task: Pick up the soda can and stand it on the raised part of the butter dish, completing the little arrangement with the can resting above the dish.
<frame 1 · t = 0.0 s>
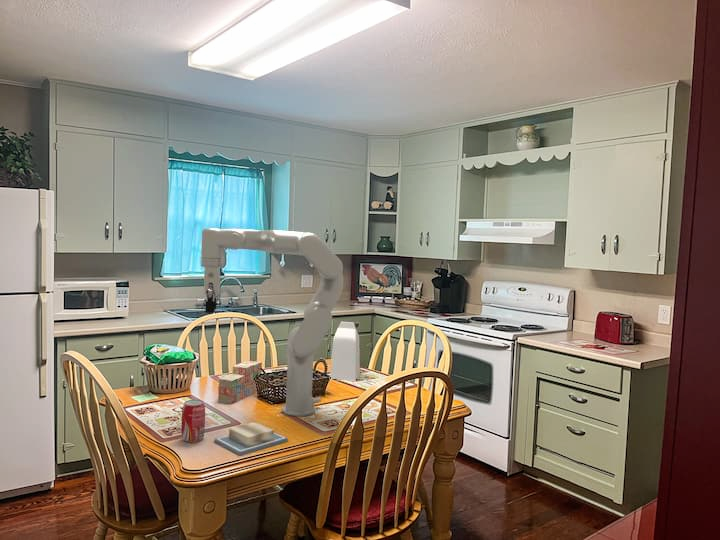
hand: (210, 310, 200), 37 cm above the table, tool pointing down, fingers open, 9 cm apart
stack of blocks: (240, 396, 225), on the table
milk: (344, 378, 261), on the table
butter dish: (251, 441, 178), on the table
soda can: (192, 440, 177), on the table
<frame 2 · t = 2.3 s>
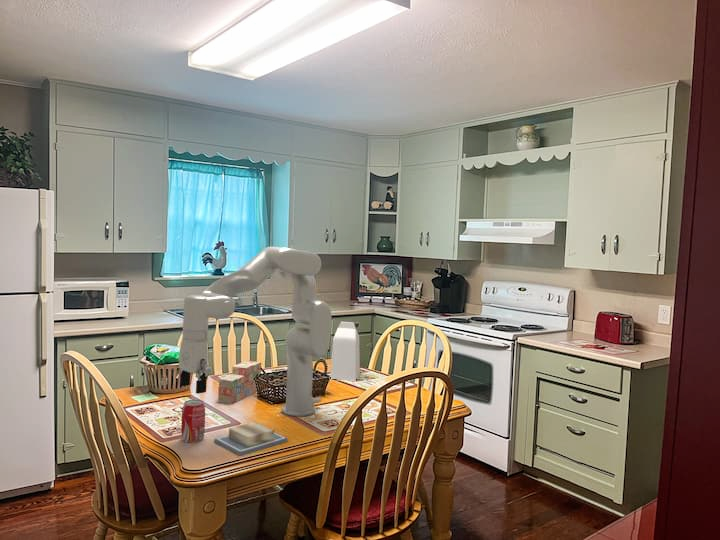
hand: (192, 389, 176), 16 cm above the table, tool pointing down, fingers open, 9 cm apart
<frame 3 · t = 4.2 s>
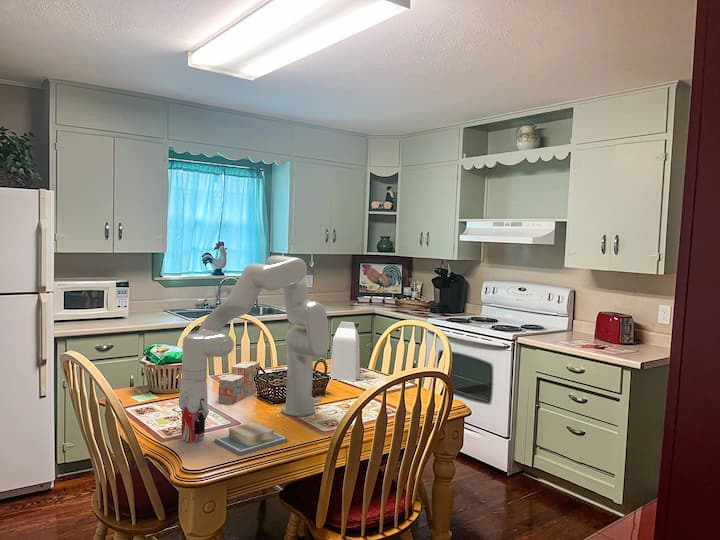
hand: (193, 429, 177), 3 cm above the table, tool pointing down, fingers closed on soda can, 7 cm apart
soda can: (192, 440, 177), on the table, touching gripper
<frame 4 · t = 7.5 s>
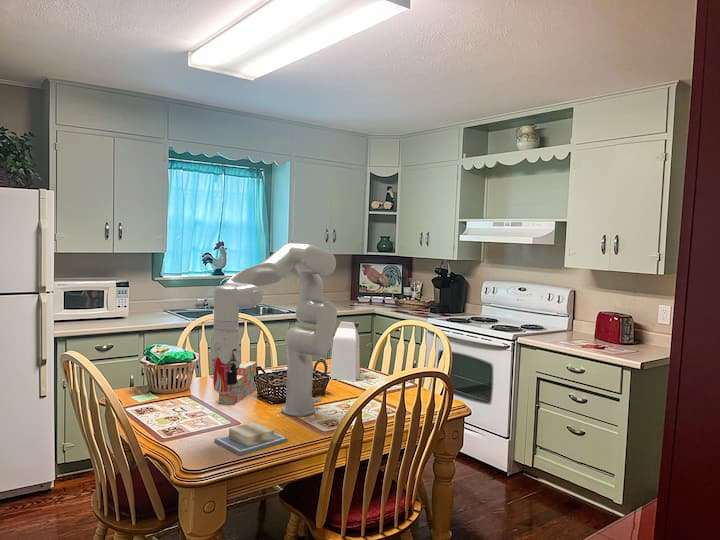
hand: (225, 380, 176), 19 cm above the table, tool pointing down, fingers closed on soda can, 7 cm apart
soda can: (224, 391, 177), point 16 cm above the table, touching gripper
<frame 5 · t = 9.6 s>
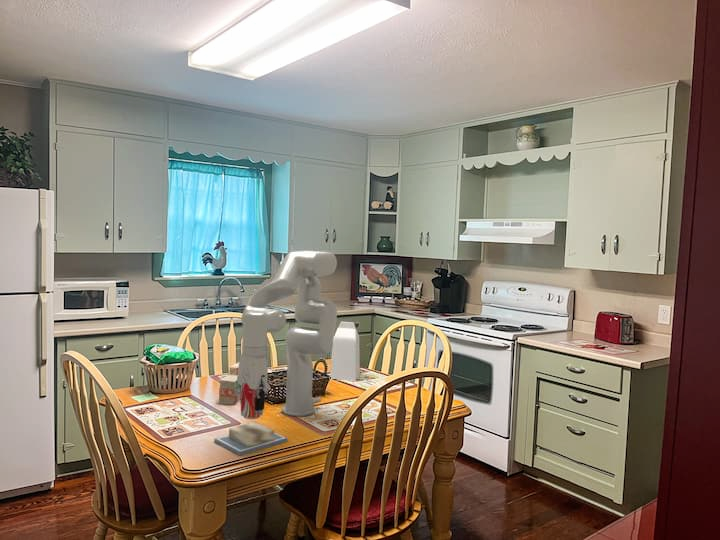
hand: (252, 406, 177), 11 cm above the table, tool pointing down, fingers closed on soda can, 7 cm apart
soda can: (251, 417, 177), point 8 cm above the table, touching gripper
when the fingers open (8 cm above the table, at t = 11.1 s): soda can drops 1 cm, resting on butter dish.
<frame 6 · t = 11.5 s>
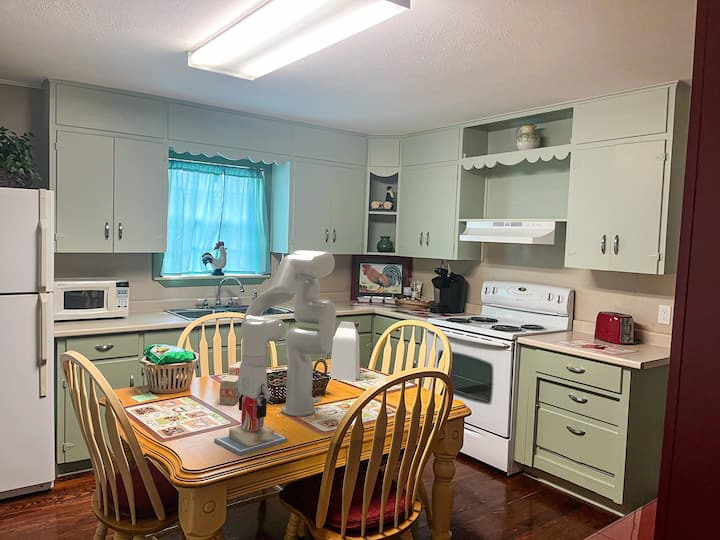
hand: (252, 413, 177), 9 cm above the table, tool pointing down, fingers open, 9 cm apart
soda can: (252, 429, 177), point 4 cm above the table, touching butter dish
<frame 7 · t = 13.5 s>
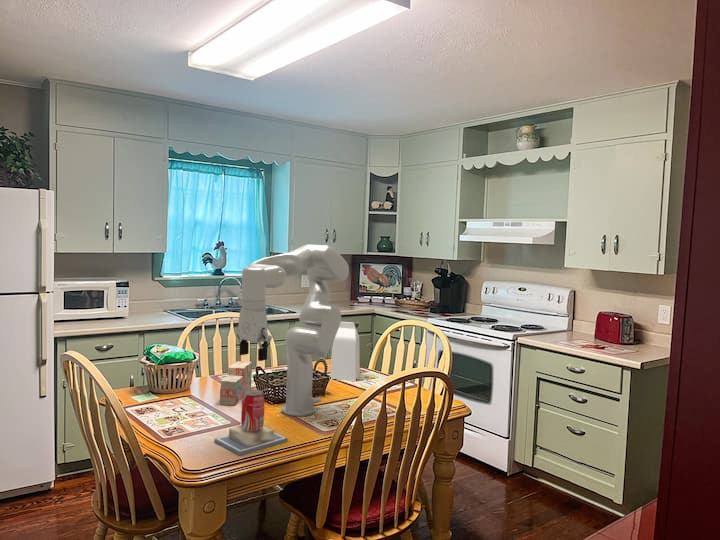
hand: (253, 357, 182), 25 cm above the table, tool pointing down, fingers open, 9 cm apart
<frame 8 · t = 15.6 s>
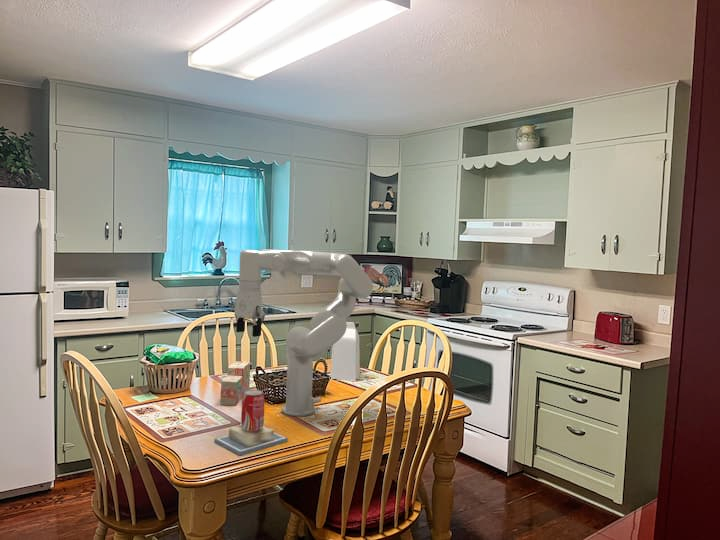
hand: (248, 334, 197), 30 cm above the table, tool pointing down, fingers open, 9 cm apart
at the end: soda can inside the target area on the butter dish (0.2 cm from its centre), point 3.8 cm above the butter dish's base; soda can tilted 0°; the gripper is holding nothing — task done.
